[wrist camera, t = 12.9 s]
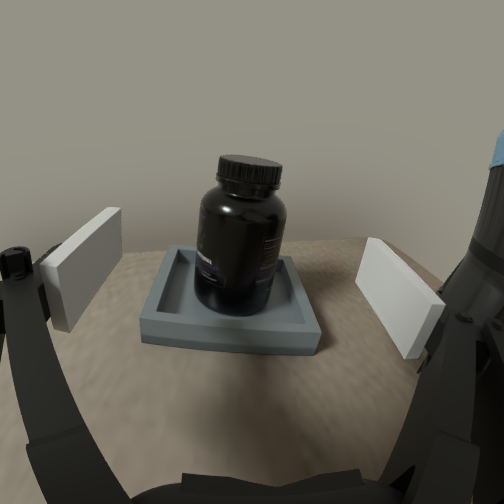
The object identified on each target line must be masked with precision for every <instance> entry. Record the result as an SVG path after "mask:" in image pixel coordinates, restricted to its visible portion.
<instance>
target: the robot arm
mask: <svg viewBox="0 0 504 504" xmlns="http://www.w3.org/2000/svg"><path fill="white" fill-rule="evenodd" d="M489 170H490V175H489V179H488V183H487V187H486V191H485V196H484V199H483V203H482V207H481V211H480V214H479V217H478V221H477V224H476V227H475V230H474V233H473V236H472V239H471V242H470V245H469V248H468V251H467V253H466V255H465V257H464V258H463V259H462V261H461V262H460V263H459V265H458V266H457V267H456V268H455V270H454V271H453V272H452V274H451V275H450V276H449V278H448V279H447V280H446V282H445V283H444V284H443V286H441V287H440V288H439V289H438V291H437V292H436V294H435V293H434V292H433V290H432V289H431V288H430V287H429V286H428V285H427V284H426V283H425V282H424V281H423V280H422V279H421V278H420V277H419V276H418V275H417V274H416V273H415V272H414V271H413V270H412V269H411V268H410V267H409V266H408V265H407V264H406V263H405V262H404V261H403V260H402V259H401V258H400V257H399V256H397V255H396V254H395V253H394V252H393V251H392V250H391V249H390V248H389V247H388V246H387V245H386V244H385V243H384V242H383V241H382V240H380V239H376V238H369V237H368V241H367V244H366V248H365V251H364V255H363V258H362V261H361V264H360V268H359V271H358V274H357V277H356V280H355V282H356V284H357V285H358V287H359V288H360V290H361V291H362V293H363V294H364V296H365V297H366V299H367V300H368V302H369V303H370V305H371V306H372V308H373V310H374V311H375V313H376V314H377V316H378V317H379V319H380V320H381V322H382V324H383V325H384V327H385V328H386V330H387V332H388V333H389V335H390V336H391V338H392V340H393V341H394V343H395V345H396V346H397V348H398V350H399V351H400V353H401V355H402V356H403V358H404V360H405V359H418V358H419V356H420V354H421V352H422V351H423V349H424V347H425V348H426V350H427V351H428V354H427V356H426V358H425V360H424V361H423V363H422V365H421V366H420V368H419V370H418V371H417V373H418V374H419V373H420V371H421V373H420V377H419V380H418V384H417V387H416V390H415V393H414V396H413V399H412V402H411V405H410V408H409V411H408V414H407V416H406V419H405V422H404V424H403V427H402V430H401V432H400V435H399V437H398V440H397V442H396V444H395V447H394V449H393V451H392V454H391V456H390V458H389V460H388V463H387V465H386V467H385V469H384V471H383V473H382V475H381V477H380V479H379V480H378V482H377V481H373V480H367V479H362V477H361V474H360V470H359V469H354V470H348V471H341V472H334V473H326V474H319V475H316V476H314V477H311V478H307V479H304V480H301V481H298V482H295V483H291V484H288V485H284V486H280V487H273V486H267V485H262V484H257V483H253V482H248V481H244V480H239V479H235V478H231V477H222V476H208V475H197V474H187V473H182V482H181V483H174V484H168V485H163V486H159V487H156V488H152V489H150V490H147V491H145V492H142V493H140V494H139V495H137V496H135V497H133V498H132V499H130V498H129V496H128V495H127V494H126V492H125V491H124V489H123V488H122V486H121V485H120V483H119V482H118V480H117V478H116V477H115V475H114V474H113V472H112V471H111V469H110V467H109V466H108V464H107V462H106V461H105V459H104V457H103V455H102V454H101V452H100V450H99V448H98V447H97V445H96V443H95V441H94V439H93V437H92V435H91V433H90V432H89V430H88V428H87V426H86V424H85V422H84V420H83V418H82V416H81V414H80V412H79V410H78V407H77V405H76V403H75V401H74V398H73V396H72V394H71V392H70V389H69V387H68V384H67V382H66V379H65V377H64V374H63V372H62V369H61V366H60V364H59V361H58V358H57V355H56V352H55V350H54V347H53V344H52V340H51V337H50V334H49V331H48V328H47V324H46V322H47V321H48V319H49V318H50V317H51V321H52V324H53V328H54V329H55V330H59V331H63V332H68V333H70V332H71V331H72V329H73V328H74V326H75V324H76V323H77V321H78V320H79V318H80V317H81V315H82V314H83V312H84V311H85V309H86V308H87V306H88V305H89V303H90V302H91V300H92V299H93V297H94V296H95V294H96V293H97V291H98V290H99V288H100V287H101V286H102V284H103V283H104V281H105V280H106V278H107V277H108V276H109V274H110V273H111V271H112V270H113V269H114V267H115V266H116V265H117V263H118V262H119V260H120V259H121V258H122V238H121V208H115V207H107V208H106V209H105V210H103V211H102V212H101V213H99V214H98V215H97V216H96V217H94V218H93V219H92V220H91V221H89V222H88V223H87V224H86V225H84V226H83V227H82V228H81V229H80V230H78V231H77V232H76V233H75V234H73V235H72V236H71V237H70V238H69V239H67V240H66V241H65V242H64V243H60V244H58V245H56V246H54V247H52V248H51V249H50V250H48V251H47V252H46V254H44V255H43V256H42V257H41V258H39V259H38V260H37V261H36V262H35V263H34V264H33V265H32V261H31V255H30V250H29V249H28V248H26V247H20V246H19V247H12V248H9V249H7V250H5V251H3V252H1V253H0V272H1V276H2V281H0V361H1V355H2V349H3V343H4V338H5V334H6V339H7V347H8V354H9V360H10V366H11V371H12V377H13V381H14V386H15V391H16V395H17V399H18V403H19V407H20V411H21V415H22V418H23V422H24V425H25V429H26V432H27V435H28V438H29V444H26V451H27V454H28V458H29V461H30V463H31V466H32V469H33V471H34V474H35V476H36V479H37V481H38V484H39V486H40V488H41V491H42V493H43V495H44V497H45V500H46V502H47V504H470V502H471V498H472V494H473V504H504V131H502V133H500V135H499V136H498V138H497V142H496V147H495V151H494V155H493V160H492V163H491V164H490V166H489ZM470 440H471V442H470Z"/></svg>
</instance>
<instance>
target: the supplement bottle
mask: <svg viewBox="0 0 504 504" xmlns="http://www.w3.org/2000/svg"><path fill="white" fill-rule="evenodd" d="M281 173H282V165H281V164H279V163H277V162H274V161H270V160H266V159H261V158H257V157H250V156H242V155H223V156H220V159H219V164H218V172H217V173H216V180H217V181H218V182H219V184H218V186H217V187H215V188H213V189H211V190H209V191H208V192H207V193H206V194H205V195H204V197H203V198H202V200H201V205H200V214H199V223H198V235H197V246H196V258H195V271H194V293H195V296H196V297H197V299H198V300H199V302H200V303H201V304H203V305H204V306H205V307H207V308H208V309H210V310H212V311H214V312H217V313H220V314H224V315H229V316H244V315H250V314H253V313H256V312H258V311H259V310H261V309H262V308H263V307H264V306H265V305H266V304H267V303H268V301H269V298H270V294H271V290H272V285H273V281H274V276H275V271H276V267H277V262H278V257H279V252H280V247H281V243H282V237H283V233H284V228H285V223H286V217H287V211H286V207H285V205H284V203H283V202H282V200H281V199H280V198H279V197H278V196H276V195H275V192H276V190H278V189H279V188H280V184H281V182H280V179H281Z"/></svg>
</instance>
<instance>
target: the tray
mask: <svg viewBox="0 0 504 504" xmlns="http://www.w3.org/2000/svg"><path fill="white" fill-rule="evenodd" d="M195 258H196V247H191V246H182V245H173V244H170V246H169V248H168V250H167V253H166V255H165V257H164V260H163V262H162V264H161V266H160V269H159V271H158V273H157V276H156V278H155V281H154V283H153V285H152V288H151V290H150V293H149V295H148V298H147V300H146V302H145V305H144V307H143V310H142V313H141V315H140V318H139V319H140V331H141V341H142V342H143V343H149V344H157V345H164V346H172V347H181V348H190V349H200V350H211V351H222V352H236V353H252V354H273V355H314V354H315V351H316V348H317V345H318V342H319V340H320V337H321V334H322V332H321V329H320V327H319V324H318V322H317V319H316V317H315V314H314V312H313V309H312V307H311V304H310V302H309V299H308V297H307V294H306V292H305V290H304V287H303V285H302V282H301V280H300V277H299V275H298V273H297V270H296V268H295V265H294V263H293V261H292V258H291V257H290V256H280V255H279V257H278V262H277V267H276V271H275V276H274V281H273V285H272V290H271V294H270V298H269V301H268V303H267V304H266V305H265V306H264V307H263V308H262V309H261V310H259V311H258V312H256V313H253V314H250V315H244V316H229V315H224V314H220V313H217V312H214V311H212V310H210V309H208V308H207V307H205V306H204V305H203V304H201V303H200V302H199V300H198V299H197V297H196V296H195V293H194V271H195Z"/></svg>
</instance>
